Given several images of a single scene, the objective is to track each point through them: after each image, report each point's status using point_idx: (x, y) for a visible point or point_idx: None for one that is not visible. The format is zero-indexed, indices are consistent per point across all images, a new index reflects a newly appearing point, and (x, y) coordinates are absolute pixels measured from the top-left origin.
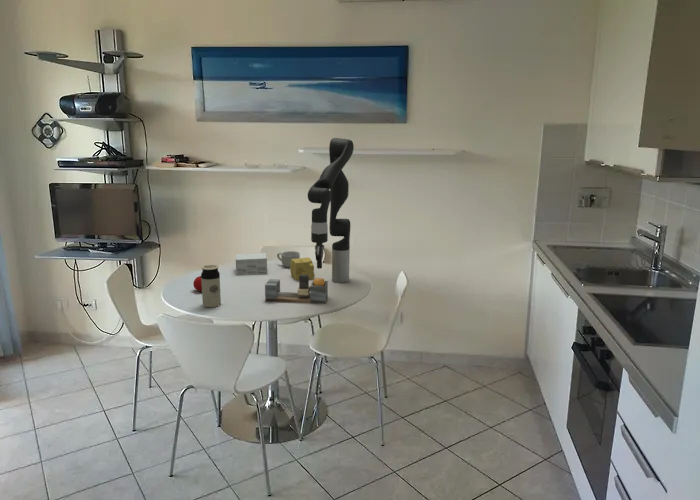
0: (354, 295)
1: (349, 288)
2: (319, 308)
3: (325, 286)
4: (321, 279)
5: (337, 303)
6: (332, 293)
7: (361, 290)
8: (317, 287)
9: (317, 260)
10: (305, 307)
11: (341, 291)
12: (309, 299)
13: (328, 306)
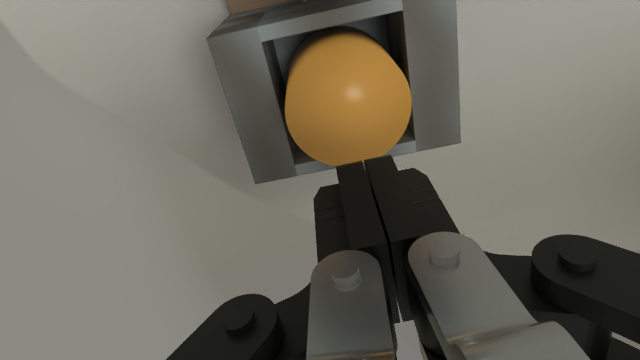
0: (476, 233)
1: (624, 173)
2: (161, 115)
3: (276, 178)
4: (361, 134)
5: (302, 188)
6: (504, 99)
7: None
8: (233, 113)
9: (296, 294)
10: (127, 8)
11: (555, 143)
12: (243, 1)
13: (226, 156)
